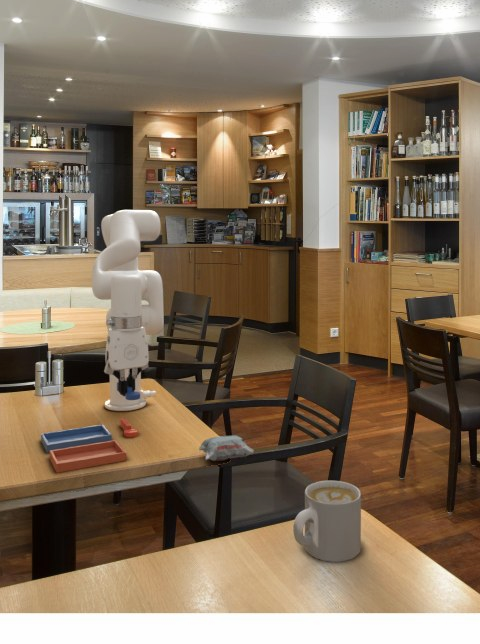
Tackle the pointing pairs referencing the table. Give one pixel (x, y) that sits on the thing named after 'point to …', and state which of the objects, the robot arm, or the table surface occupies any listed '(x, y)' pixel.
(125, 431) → the red spoon
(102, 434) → the blue tray
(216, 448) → the packaged food
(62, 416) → the table surface
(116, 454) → the red tray
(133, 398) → the blue spoon
